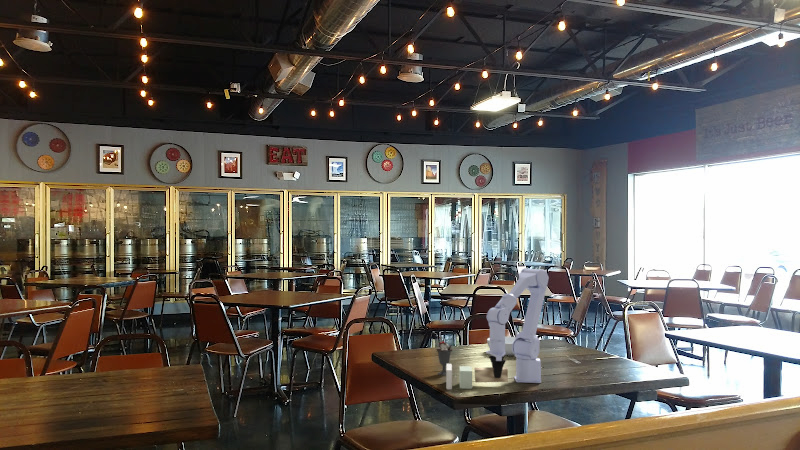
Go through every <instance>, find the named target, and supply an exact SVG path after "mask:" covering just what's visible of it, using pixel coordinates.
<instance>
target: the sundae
mask: <svg viewBox="0 0 800 450" xmlns="http://www.w3.org/2000/svg"><path fill="white" fill-rule="evenodd" d="M438 339H441V336H439V337H438ZM436 351H437V354H438V362H439V364H440V365H441V366H442V370H441V372H438V373H437V375H439V376H446V367H447V364H450V359H451V353H452V352H453V349H452V344H451V345H449V343H447V342H445V341H444V340H443V339H441V341H440V342H439V345H438V346H437V348H436Z"/></svg>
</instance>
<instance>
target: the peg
mask: <svg viewBox="0 0 800 450" xmlns="http://www.w3.org/2000/svg"><path fill="white" fill-rule="evenodd" d="M508 369H509V368H508V367H507V366H503V369H502V374H501V378H495V376H494V371H493V367H492V366H491V367H488V366H487V367H474V380H475V381H474V382H475V383H508V382H509V374H508V372H509V371H508Z"/></svg>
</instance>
